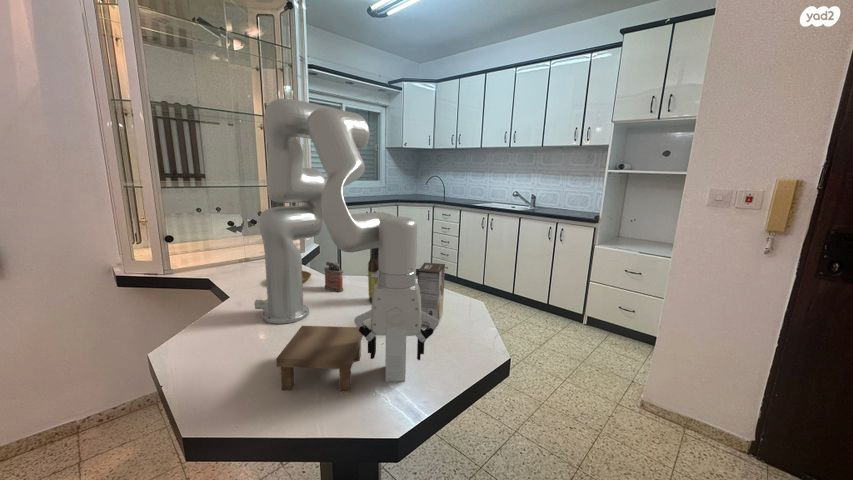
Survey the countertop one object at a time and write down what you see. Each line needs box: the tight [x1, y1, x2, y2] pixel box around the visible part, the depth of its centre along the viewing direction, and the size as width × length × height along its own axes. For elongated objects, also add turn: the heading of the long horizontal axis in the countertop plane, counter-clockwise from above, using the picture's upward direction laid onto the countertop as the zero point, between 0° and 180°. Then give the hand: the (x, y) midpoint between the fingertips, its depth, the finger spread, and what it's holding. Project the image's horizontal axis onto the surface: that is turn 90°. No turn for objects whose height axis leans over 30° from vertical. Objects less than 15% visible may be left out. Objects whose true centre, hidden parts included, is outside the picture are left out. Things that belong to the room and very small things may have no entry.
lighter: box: [323, 261, 344, 293], centre depth 122 cm, size 8×3×10 cm, turn 58°
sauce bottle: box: [367, 248, 379, 304], centre depth 111 cm, size 6×6×20 cm
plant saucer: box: [302, 270, 312, 284], centre depth 129 cm, size 15×15×3 cm
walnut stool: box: [276, 325, 364, 393], centre depth 72 cm, size 14×14×7 cm
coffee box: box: [417, 262, 446, 327], centre depth 99 cm, size 9×6×16 cm
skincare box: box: [384, 328, 407, 383], centre depth 72 cm, size 6×4×12 cm
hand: (396, 356), depth 72 cm, fingers open, 9 cm apart
